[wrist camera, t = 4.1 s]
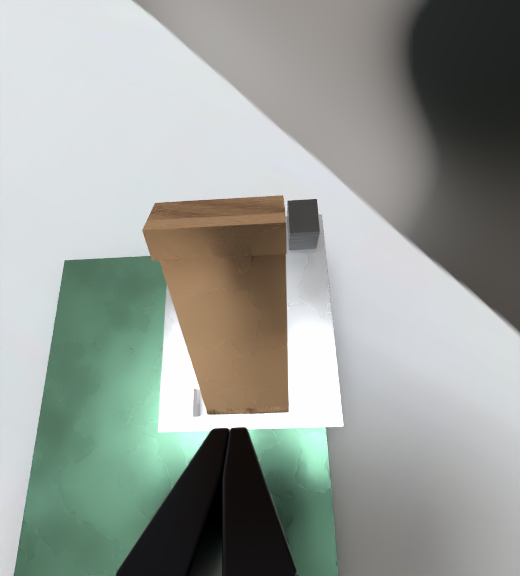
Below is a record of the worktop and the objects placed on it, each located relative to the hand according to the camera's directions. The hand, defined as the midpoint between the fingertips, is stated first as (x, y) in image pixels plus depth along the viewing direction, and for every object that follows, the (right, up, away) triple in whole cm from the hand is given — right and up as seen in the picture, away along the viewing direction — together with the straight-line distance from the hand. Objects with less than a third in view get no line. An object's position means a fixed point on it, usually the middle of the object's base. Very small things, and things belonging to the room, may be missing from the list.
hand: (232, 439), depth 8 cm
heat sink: (-4, -2, +11) cm, 12 cm away
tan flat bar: (0, +3, +3) cm, 4 cm away
